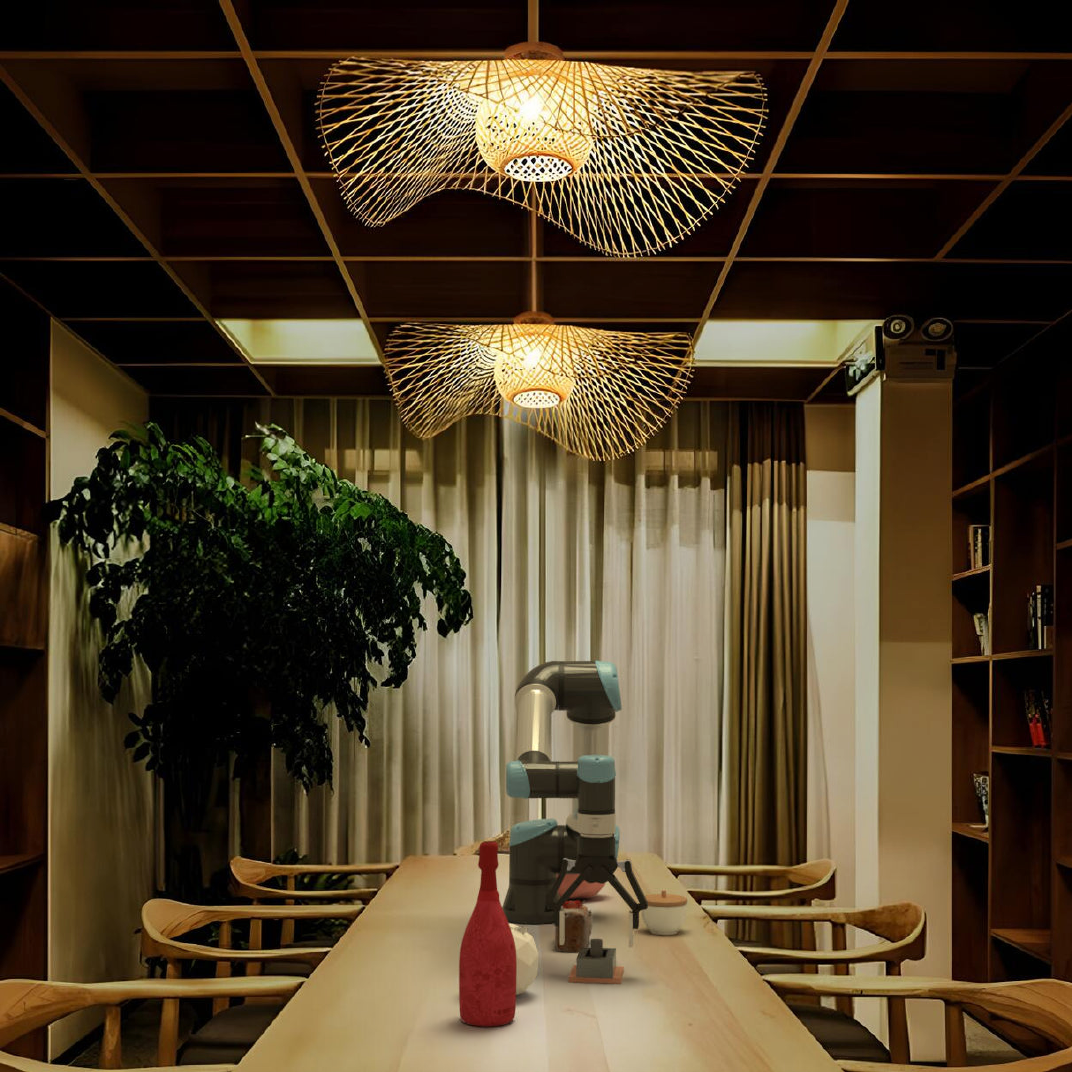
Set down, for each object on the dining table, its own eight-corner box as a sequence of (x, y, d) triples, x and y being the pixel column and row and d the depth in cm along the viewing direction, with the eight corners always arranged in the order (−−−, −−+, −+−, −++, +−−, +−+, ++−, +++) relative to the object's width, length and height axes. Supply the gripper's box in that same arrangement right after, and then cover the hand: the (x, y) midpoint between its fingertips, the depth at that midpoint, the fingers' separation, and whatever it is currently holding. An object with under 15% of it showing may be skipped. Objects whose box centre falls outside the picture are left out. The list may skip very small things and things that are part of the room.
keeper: (573, 970, 250) (573, 934, 251) (623, 971, 249) (623, 935, 250) (568, 982, 240) (568, 944, 241) (620, 983, 239) (620, 946, 240)
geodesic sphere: (565, 958, 235) (522, 897, 238) (549, 975, 222) (504, 910, 225) (506, 1002, 237) (464, 941, 240) (487, 1022, 223) (443, 956, 226)
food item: (557, 939, 280) (557, 894, 281) (592, 940, 279) (592, 894, 281) (553, 952, 266) (553, 905, 268) (591, 953, 266) (591, 905, 267)
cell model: (612, 905, 322) (611, 860, 323) (534, 904, 322) (534, 859, 323) (609, 893, 338) (609, 851, 340) (535, 893, 339) (535, 850, 340)
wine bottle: (481, 1010, 220) (483, 836, 223) (527, 1019, 214) (528, 840, 218) (446, 1022, 212) (448, 842, 215) (493, 1032, 206) (494, 846, 210)
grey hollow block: (581, 965, 250) (581, 947, 250) (616, 966, 249) (616, 948, 250) (576, 977, 240) (576, 958, 241) (612, 978, 239) (612, 959, 240)
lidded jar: (685, 938, 281) (685, 895, 282) (637, 936, 283) (637, 893, 284) (689, 928, 292) (688, 887, 293) (643, 926, 294) (643, 886, 295)
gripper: (531, 835, 246) (531, 946, 244) (659, 838, 243) (659, 951, 241) (536, 830, 253) (536, 938, 251) (660, 833, 250) (660, 942, 248)
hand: (596, 944), depth 246 cm, fingers open, 13 cm apart
